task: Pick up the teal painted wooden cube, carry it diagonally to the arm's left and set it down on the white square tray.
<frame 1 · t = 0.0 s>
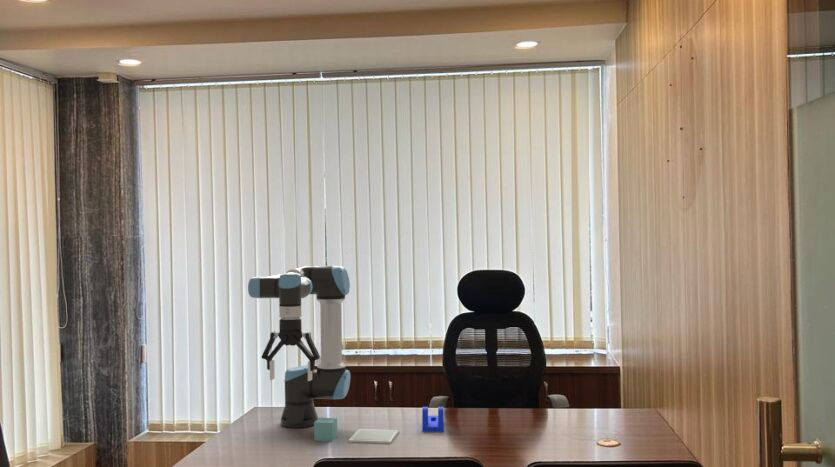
hand: (291, 379, 265), 28 cm above the table, fingers open, 13 cm apart
bracket: (433, 426, 311), on the table
white square tray: (374, 437, 295), on the table
cube: (325, 438, 294), on the table
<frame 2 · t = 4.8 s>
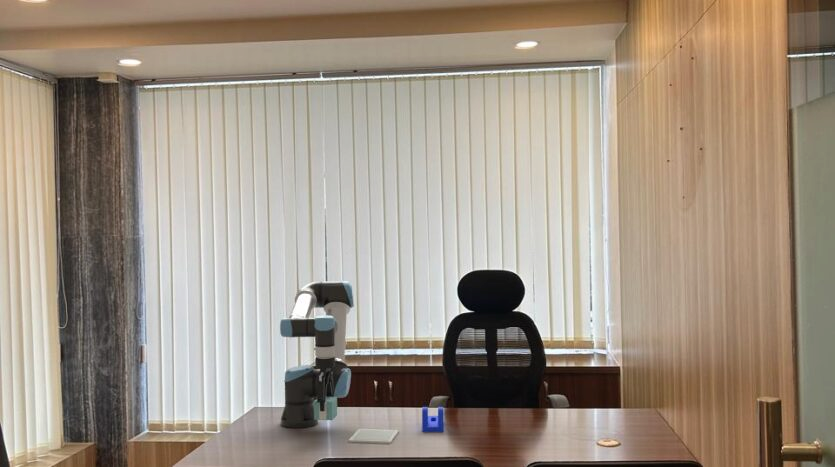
hand: (325, 416, 294), 8 cm above the table, fingers closed on cube, 7 cm apart
cube: (325, 417, 294), point 8 cm above the table, touching gripper
everything else where it was.
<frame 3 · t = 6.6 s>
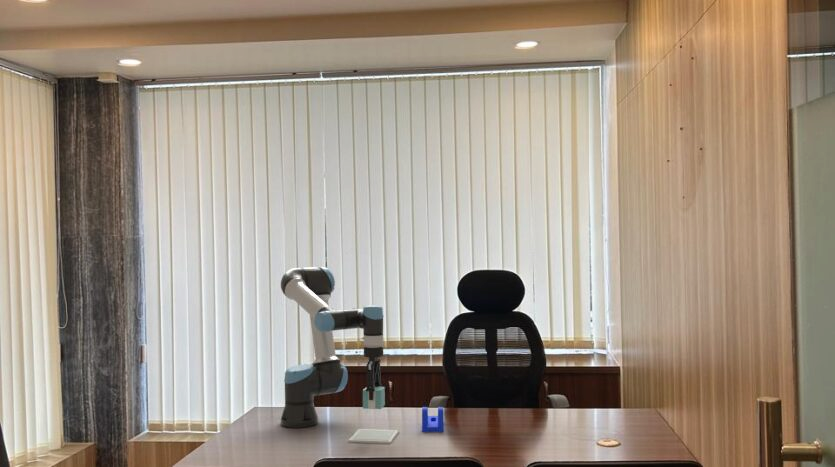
hand: (374, 405, 295), 12 cm above the table, fingers closed on cube, 7 cm apart
cube: (374, 406, 295), point 12 cm above the table, touching gripper
everything else where it was.
when the fingers open (2 cm above the table, at t = 8.7 s): cube stays where it is, resting on white square tray.
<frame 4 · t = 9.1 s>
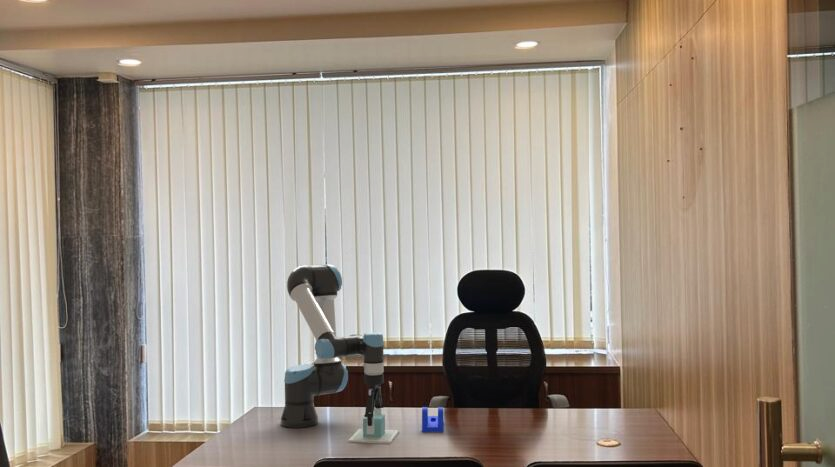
hand: (374, 429, 295), 3 cm above the table, fingers open, 12 cm apart
cube: (374, 434, 295), point 1 cm above the table, touching white square tray
everything else where it was.
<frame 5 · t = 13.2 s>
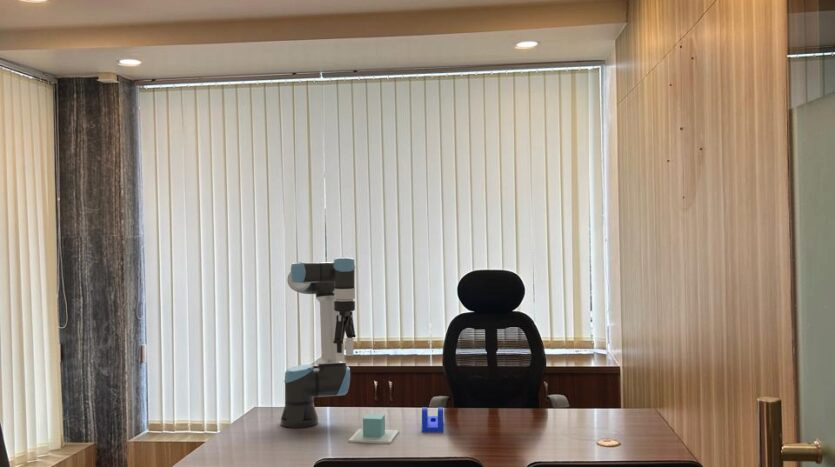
hand: (345, 358, 280), 33 cm above the table, fingers open, 13 cm apart
at the end: cube inside the target area on the white square tray (0.1 cm from its centre), point 0.9 cm above the white square tray's base; cube tilted 0°; the gripper is holding nothing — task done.
